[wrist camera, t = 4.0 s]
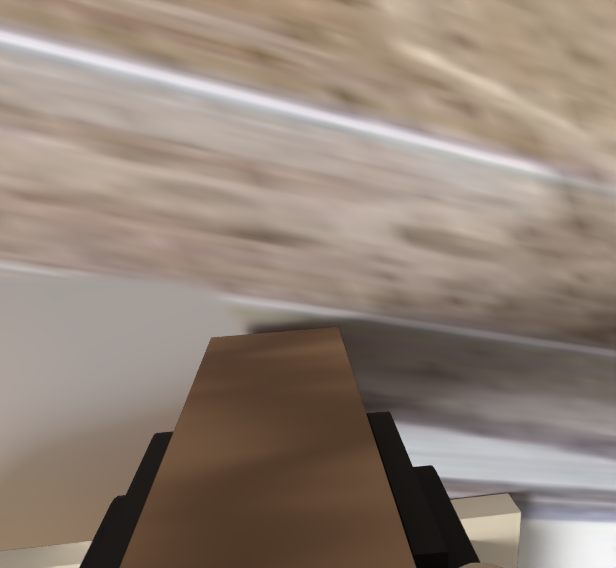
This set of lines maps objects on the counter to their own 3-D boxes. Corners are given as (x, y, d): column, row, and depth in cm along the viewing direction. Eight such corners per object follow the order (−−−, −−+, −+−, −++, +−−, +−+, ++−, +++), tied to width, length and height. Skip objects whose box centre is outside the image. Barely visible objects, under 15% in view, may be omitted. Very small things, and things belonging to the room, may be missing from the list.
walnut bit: (338, 326, 14) (582, 1075, 3) (344, 435, 15) (533, 1302, 4) (210, 337, 14) (-123, 1178, 2) (226, 447, 15) (45, 1378, 4)
